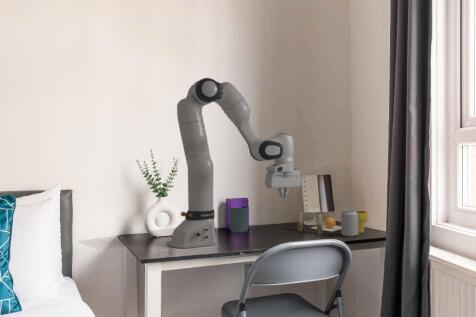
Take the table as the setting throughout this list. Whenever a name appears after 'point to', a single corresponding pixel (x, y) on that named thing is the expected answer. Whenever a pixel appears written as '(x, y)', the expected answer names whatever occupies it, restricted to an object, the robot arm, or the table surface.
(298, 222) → the left post
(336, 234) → the table surface
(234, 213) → the dark grey cylinder
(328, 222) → the ball
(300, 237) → the table surface
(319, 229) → the right post
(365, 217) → the plant pot
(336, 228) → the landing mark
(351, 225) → the can
